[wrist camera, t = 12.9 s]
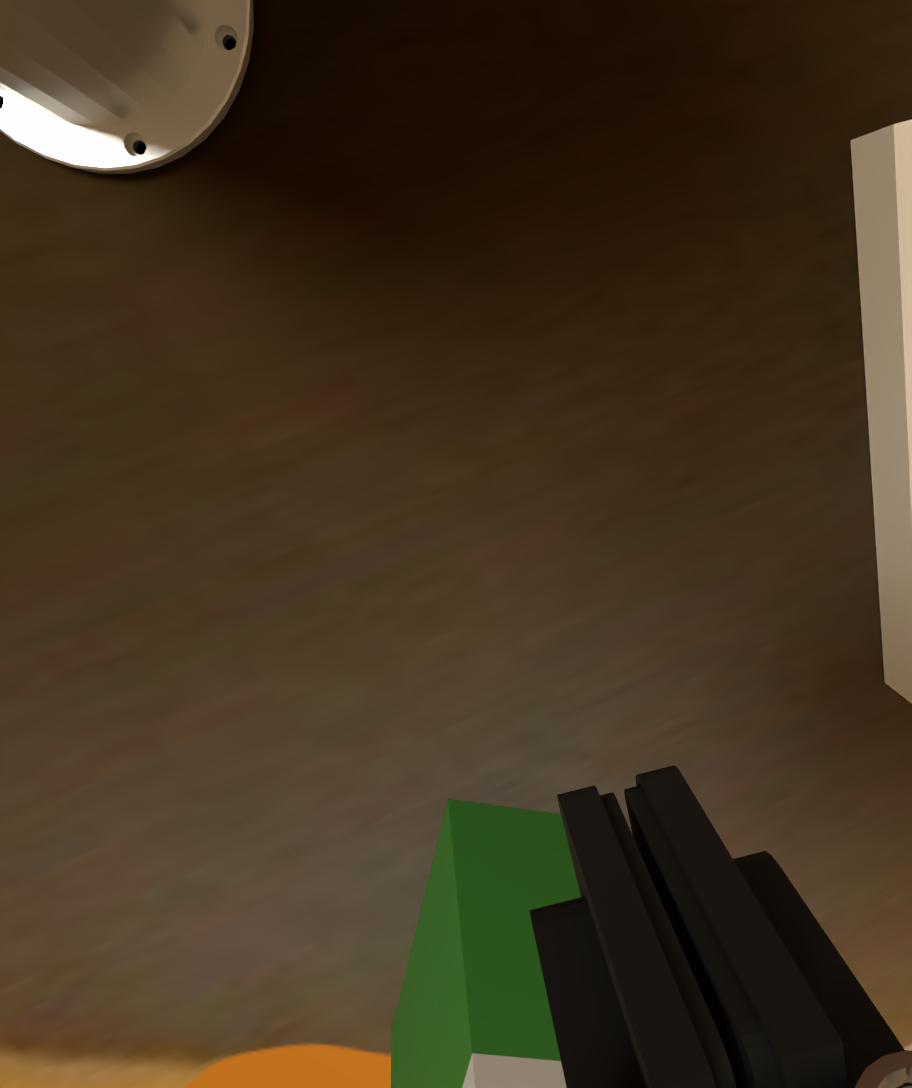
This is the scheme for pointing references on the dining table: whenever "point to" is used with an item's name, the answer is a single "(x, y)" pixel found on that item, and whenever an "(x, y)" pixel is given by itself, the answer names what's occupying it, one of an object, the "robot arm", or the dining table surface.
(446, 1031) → the hardback book
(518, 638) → the dining table surface
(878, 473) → the button panel
